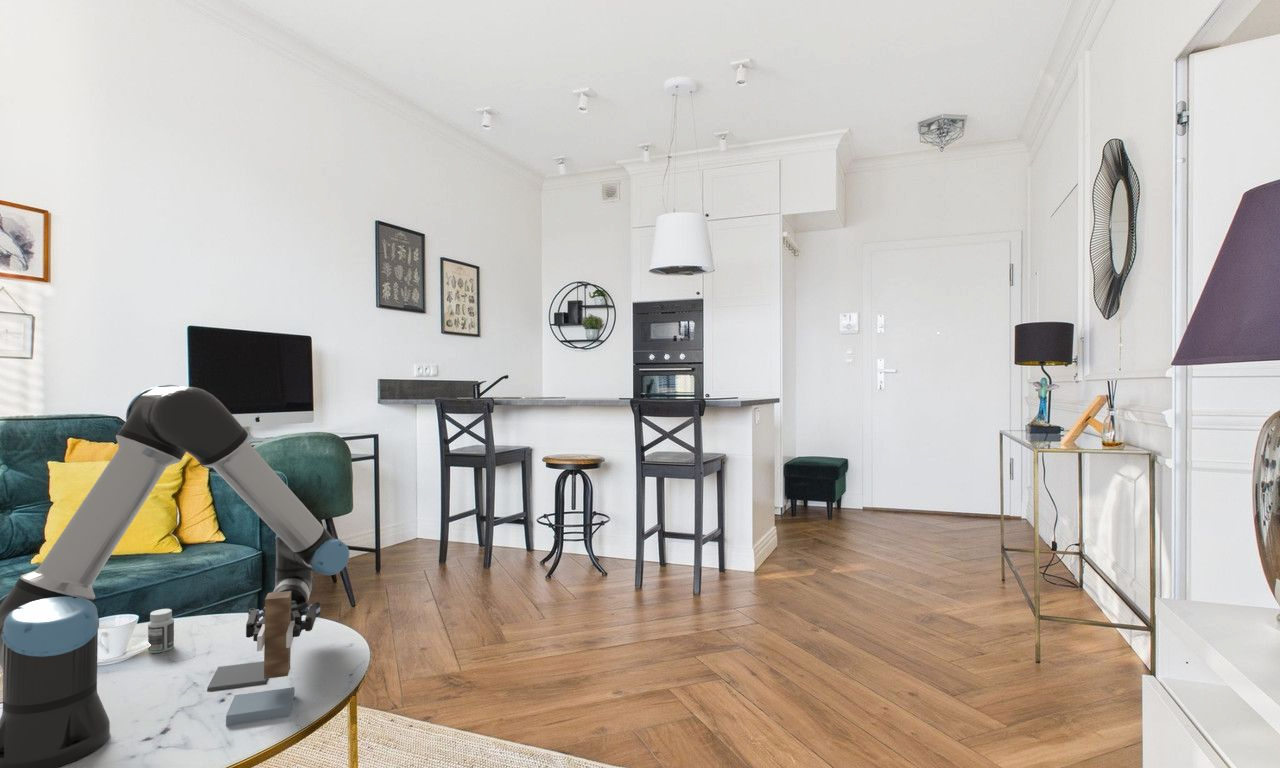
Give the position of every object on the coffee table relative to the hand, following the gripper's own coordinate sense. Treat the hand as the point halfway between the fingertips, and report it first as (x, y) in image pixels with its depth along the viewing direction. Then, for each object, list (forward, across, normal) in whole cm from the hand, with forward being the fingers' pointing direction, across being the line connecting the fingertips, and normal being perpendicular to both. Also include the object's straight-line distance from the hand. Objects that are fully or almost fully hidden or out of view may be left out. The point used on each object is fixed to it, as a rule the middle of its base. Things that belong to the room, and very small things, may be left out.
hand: (274, 641), depth 123 cm
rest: (-18, +8, -13) cm, 24 cm away
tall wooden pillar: (-5, 0, -8) cm, 10 cm away
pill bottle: (-39, +27, -13) cm, 49 cm away
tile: (-5, +2, -12) cm, 13 cm away
